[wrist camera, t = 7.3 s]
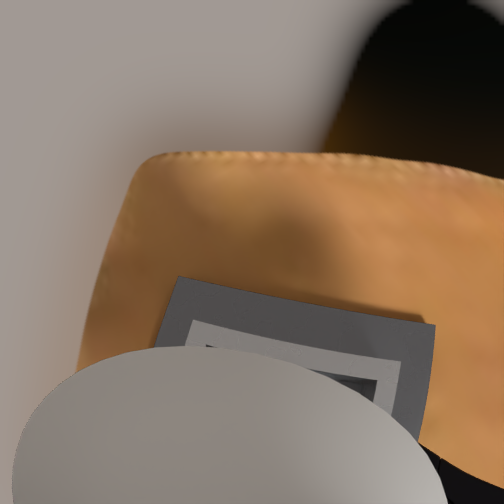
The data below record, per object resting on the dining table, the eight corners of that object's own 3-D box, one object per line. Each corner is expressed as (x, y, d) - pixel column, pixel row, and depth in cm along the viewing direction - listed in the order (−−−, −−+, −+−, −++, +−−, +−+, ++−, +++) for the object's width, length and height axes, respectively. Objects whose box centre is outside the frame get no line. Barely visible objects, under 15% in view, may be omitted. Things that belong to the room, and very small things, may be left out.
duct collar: (366, 564, 10) (380, 593, 6) (117, 501, 13) (82, 514, 10) (429, 329, 16) (458, 309, 13) (183, 282, 20) (161, 254, 16)
